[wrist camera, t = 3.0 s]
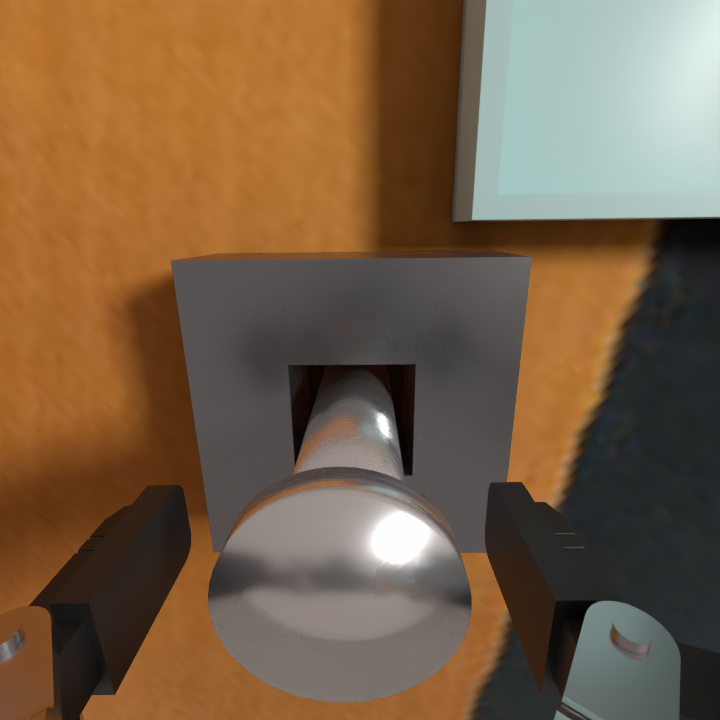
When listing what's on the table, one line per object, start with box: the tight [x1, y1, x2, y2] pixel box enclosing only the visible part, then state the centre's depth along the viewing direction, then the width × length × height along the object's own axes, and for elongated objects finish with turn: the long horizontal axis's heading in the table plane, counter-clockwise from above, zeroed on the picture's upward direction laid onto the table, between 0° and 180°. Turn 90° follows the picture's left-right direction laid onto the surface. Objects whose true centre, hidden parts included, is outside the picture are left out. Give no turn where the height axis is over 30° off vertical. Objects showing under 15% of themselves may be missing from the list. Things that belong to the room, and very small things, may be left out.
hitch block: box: [171, 251, 532, 553], centre depth 18 cm, size 12×12×4 cm
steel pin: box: [208, 365, 471, 702], centre depth 14 cm, size 5×5×12 cm
